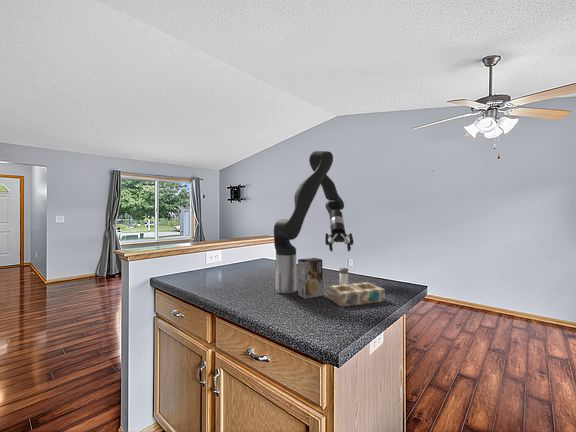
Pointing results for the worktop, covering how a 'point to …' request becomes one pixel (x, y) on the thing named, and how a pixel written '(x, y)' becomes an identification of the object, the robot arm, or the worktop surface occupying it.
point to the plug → (343, 276)
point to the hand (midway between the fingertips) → (340, 250)
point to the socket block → (356, 294)
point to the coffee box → (310, 277)
